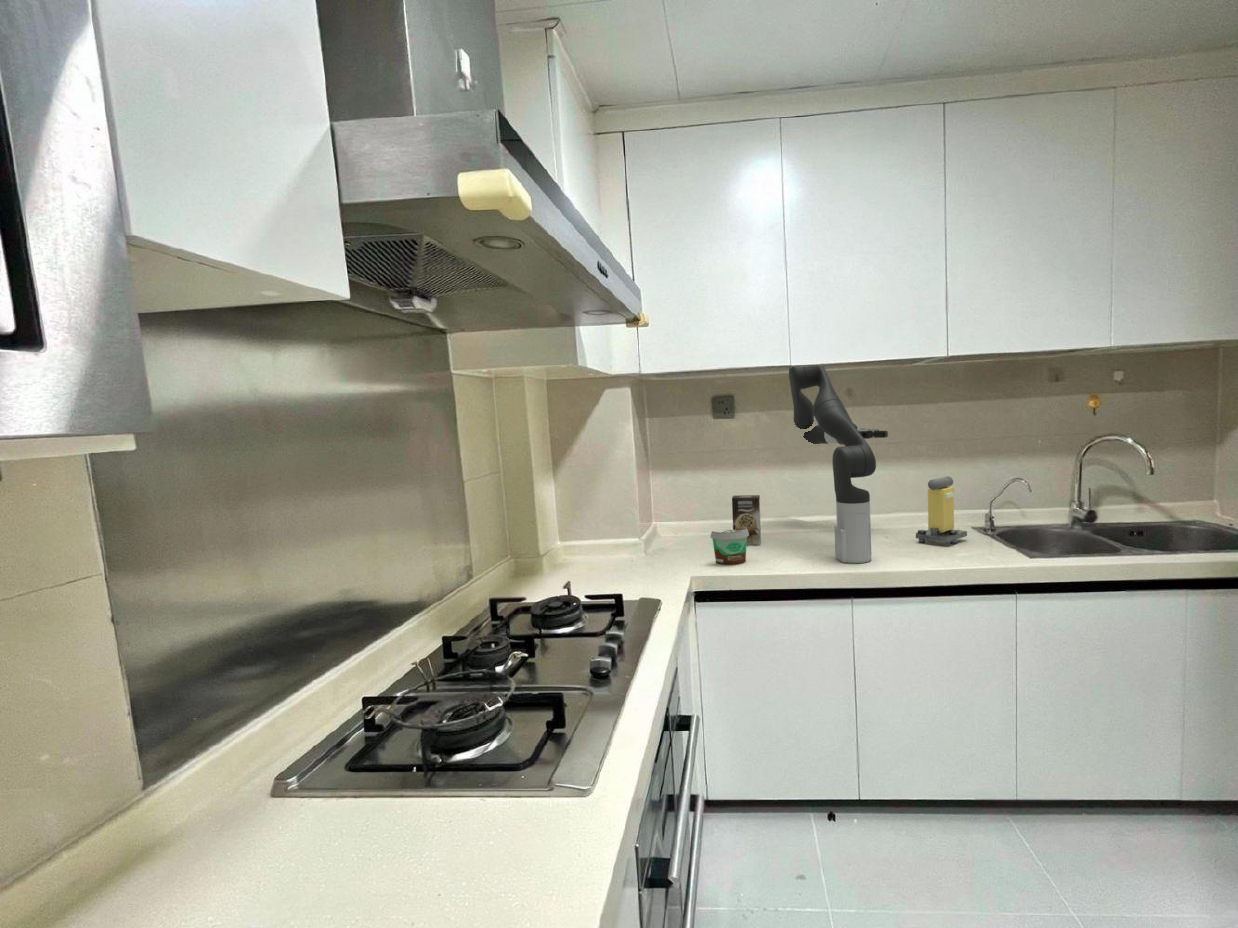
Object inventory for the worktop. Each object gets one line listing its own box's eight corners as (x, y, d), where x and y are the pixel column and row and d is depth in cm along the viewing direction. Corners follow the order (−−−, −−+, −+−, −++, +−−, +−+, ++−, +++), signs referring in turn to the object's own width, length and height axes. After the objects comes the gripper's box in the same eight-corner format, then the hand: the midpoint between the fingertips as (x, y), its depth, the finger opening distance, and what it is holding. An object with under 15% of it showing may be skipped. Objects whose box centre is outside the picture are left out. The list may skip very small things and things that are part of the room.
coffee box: (733, 545, 221) (730, 497, 219) (734, 541, 227) (732, 495, 225) (761, 545, 218) (759, 497, 217) (761, 541, 225) (759, 494, 223)
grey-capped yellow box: (943, 535, 203) (942, 480, 201) (925, 532, 207) (925, 479, 206) (958, 530, 208) (957, 476, 206) (940, 528, 213) (940, 475, 211)
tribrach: (947, 547, 201) (946, 531, 200) (915, 542, 209) (915, 527, 208) (967, 540, 208) (966, 524, 207) (936, 536, 216) (935, 521, 215)
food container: (722, 568, 193) (720, 534, 192) (711, 564, 198) (710, 531, 197) (758, 562, 197) (756, 529, 196) (746, 558, 203) (745, 526, 202)
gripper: (829, 424, 227) (874, 424, 213) (852, 421, 235) (897, 421, 221) (829, 446, 228) (875, 447, 214) (852, 443, 236) (898, 443, 222)
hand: (886, 434), depth 218 cm, fingers closed
